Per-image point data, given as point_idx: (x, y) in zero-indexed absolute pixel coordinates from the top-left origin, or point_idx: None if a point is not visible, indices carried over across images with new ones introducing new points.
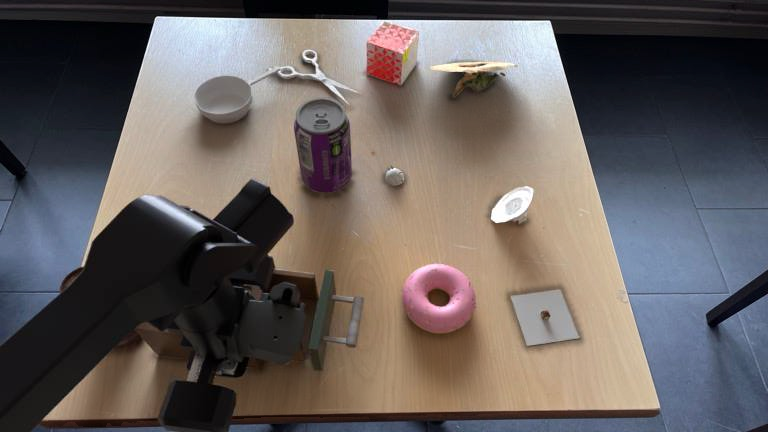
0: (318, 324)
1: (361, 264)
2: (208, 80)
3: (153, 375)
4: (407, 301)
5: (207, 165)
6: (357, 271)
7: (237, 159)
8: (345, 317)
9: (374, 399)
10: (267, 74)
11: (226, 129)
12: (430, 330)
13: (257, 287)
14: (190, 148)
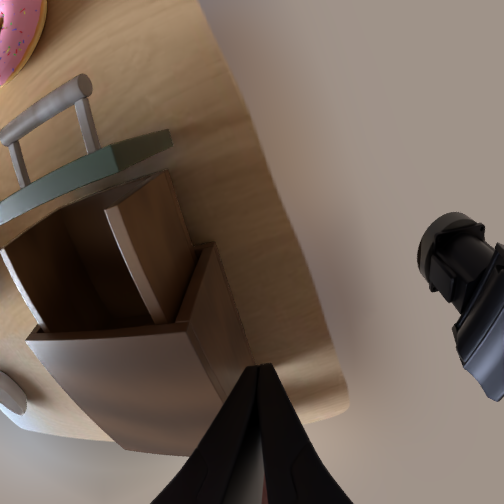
0: (56, 181)
1: (2, 173)
2: (7, 407)
3: (284, 365)
4: (3, 63)
5: (49, 390)
6: (10, 172)
7: (25, 368)
8: (68, 145)
9: (184, 17)
10: None
11: (19, 382)
12: (40, 4)
13: (76, 349)
14: (52, 404)
